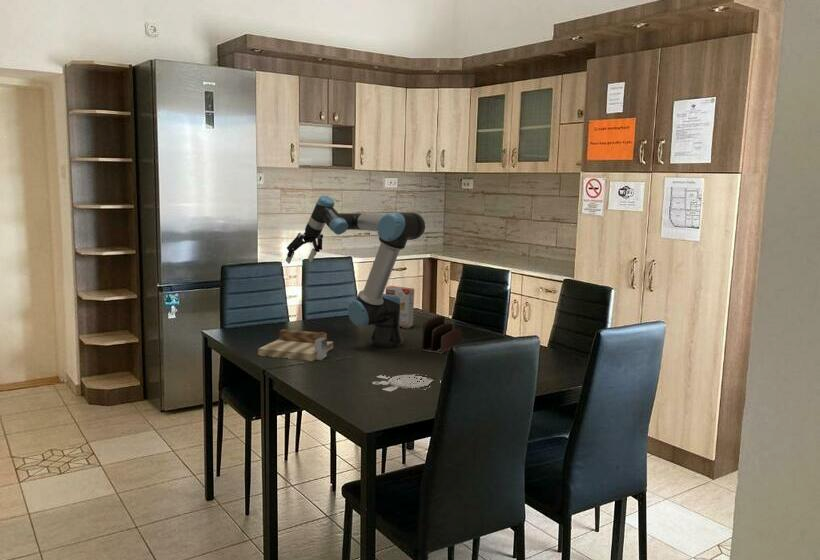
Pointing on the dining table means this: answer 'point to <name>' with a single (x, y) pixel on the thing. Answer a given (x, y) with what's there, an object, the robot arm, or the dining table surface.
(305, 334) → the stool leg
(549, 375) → the dining table surface
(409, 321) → the cracker box
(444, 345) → the letter holder
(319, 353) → the stop post
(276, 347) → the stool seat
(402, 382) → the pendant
